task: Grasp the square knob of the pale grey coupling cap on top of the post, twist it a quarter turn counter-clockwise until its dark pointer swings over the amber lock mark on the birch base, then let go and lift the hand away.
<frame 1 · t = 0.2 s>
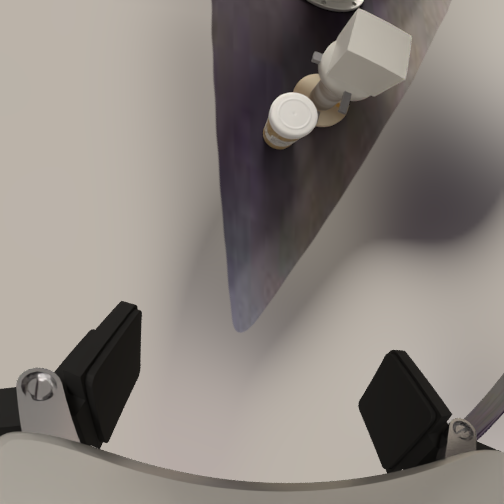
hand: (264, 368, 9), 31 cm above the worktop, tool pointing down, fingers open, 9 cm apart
coupling cap: (360, 68, 19), point 17 cm above the worktop, hinge at 0.0°
sprinkles bottle: (278, 134, 36), on the worktop
post base: (319, 101, 34), on the worktop
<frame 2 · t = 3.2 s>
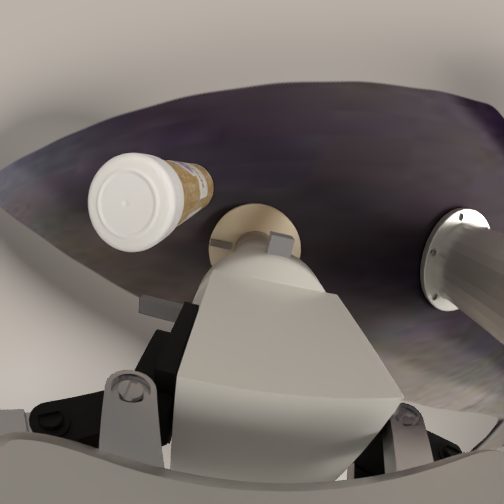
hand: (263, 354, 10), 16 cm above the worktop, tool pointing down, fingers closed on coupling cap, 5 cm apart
coupling cap: (234, 357, 9), point 17 cm above the worktop, hinge at 0.0°, touching gripper
sprinkles bottle: (189, 188, 24), on the worktop
post base: (254, 246, 25), on the worktop
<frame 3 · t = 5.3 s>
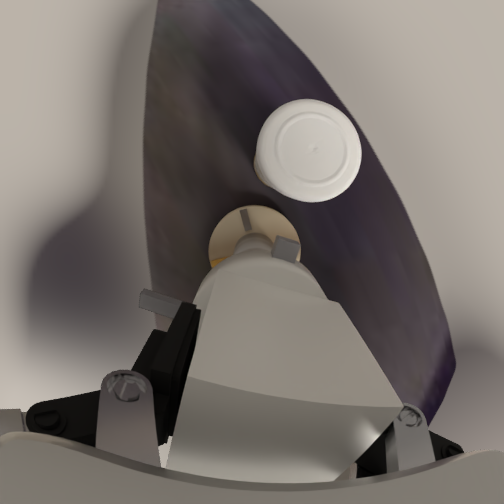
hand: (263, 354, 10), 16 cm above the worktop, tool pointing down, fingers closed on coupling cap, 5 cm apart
coupling cap: (234, 358, 9), point 17 cm above the worktop, hinge at 57.9°, touching gripper
sprinkles bottle: (278, 163, 24), on the worktop
post base: (254, 248, 25), on the worktop
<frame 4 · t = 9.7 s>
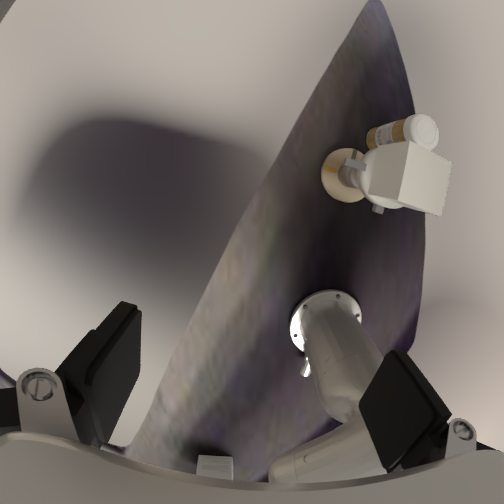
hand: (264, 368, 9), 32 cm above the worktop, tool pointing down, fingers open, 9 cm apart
coupling cap: (393, 174, 23), point 17 cm above the worktop, hinge at 90.6°
sprinkles bottle: (377, 141, 37), on the worktop
supplement box: (216, 462, 58), on the worktop
post base: (345, 175, 39), on the worktop
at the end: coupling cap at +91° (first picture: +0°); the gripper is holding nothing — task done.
